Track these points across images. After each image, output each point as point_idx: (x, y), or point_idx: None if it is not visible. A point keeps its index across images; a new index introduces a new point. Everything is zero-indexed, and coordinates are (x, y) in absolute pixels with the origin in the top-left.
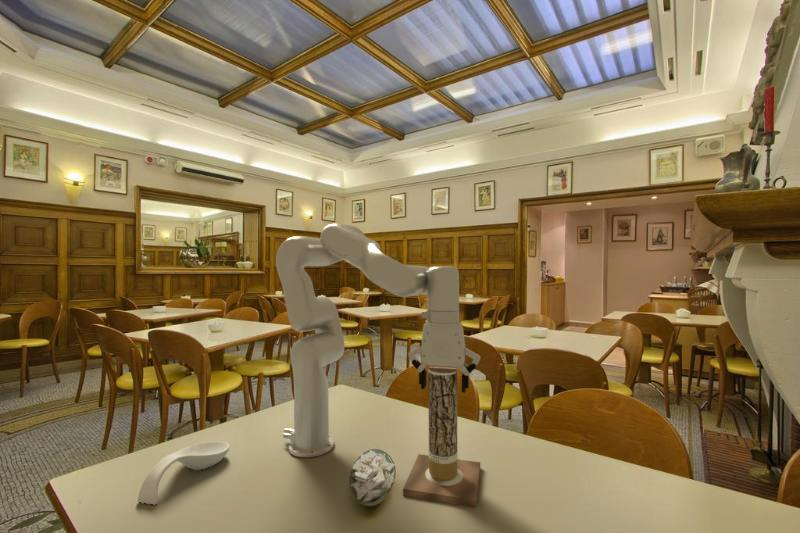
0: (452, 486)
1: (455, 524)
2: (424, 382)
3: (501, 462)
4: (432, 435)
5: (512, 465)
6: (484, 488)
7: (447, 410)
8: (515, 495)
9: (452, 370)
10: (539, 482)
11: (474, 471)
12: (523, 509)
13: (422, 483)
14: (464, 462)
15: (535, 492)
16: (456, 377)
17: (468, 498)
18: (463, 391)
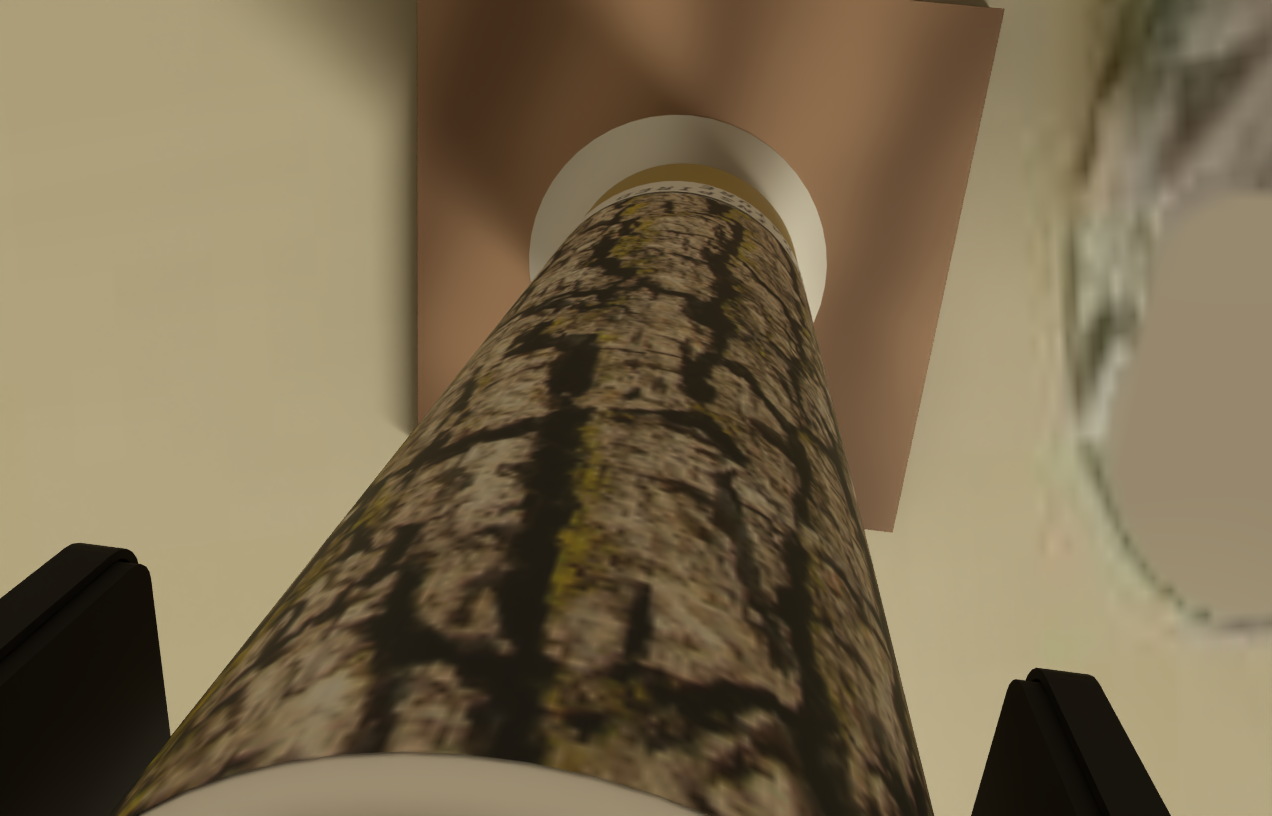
0: (602, 114)
1: None
2: (1046, 811)
3: (296, 545)
4: (774, 275)
5: (224, 517)
6: (389, 211)
7: (526, 338)
8: (183, 161)
9: None
10: (47, 340)
11: (452, 347)
12: (123, 2)
13: (842, 114)
14: None
15: (63, 219)
16: None
17: None
18: (93, 552)
